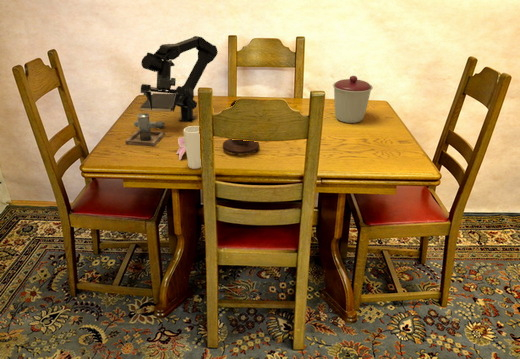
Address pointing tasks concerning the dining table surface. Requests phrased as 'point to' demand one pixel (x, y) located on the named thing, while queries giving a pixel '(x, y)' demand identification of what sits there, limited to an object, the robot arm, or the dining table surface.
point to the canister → (351, 99)
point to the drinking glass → (192, 146)
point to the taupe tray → (135, 140)
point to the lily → (181, 147)
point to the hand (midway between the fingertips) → (162, 110)
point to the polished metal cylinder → (144, 126)
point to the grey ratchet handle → (153, 124)
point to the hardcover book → (159, 102)
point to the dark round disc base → (240, 145)
